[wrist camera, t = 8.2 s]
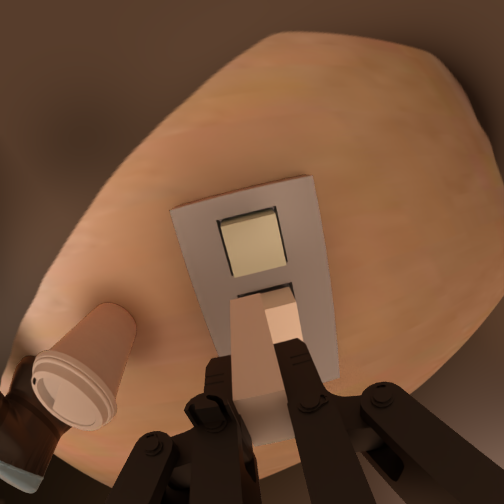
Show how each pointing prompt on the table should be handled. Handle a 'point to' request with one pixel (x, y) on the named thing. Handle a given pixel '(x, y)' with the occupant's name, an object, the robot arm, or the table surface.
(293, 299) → the ivory key
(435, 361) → the table surface
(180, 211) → the keypad board
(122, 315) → the coffee cup
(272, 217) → the sage key
